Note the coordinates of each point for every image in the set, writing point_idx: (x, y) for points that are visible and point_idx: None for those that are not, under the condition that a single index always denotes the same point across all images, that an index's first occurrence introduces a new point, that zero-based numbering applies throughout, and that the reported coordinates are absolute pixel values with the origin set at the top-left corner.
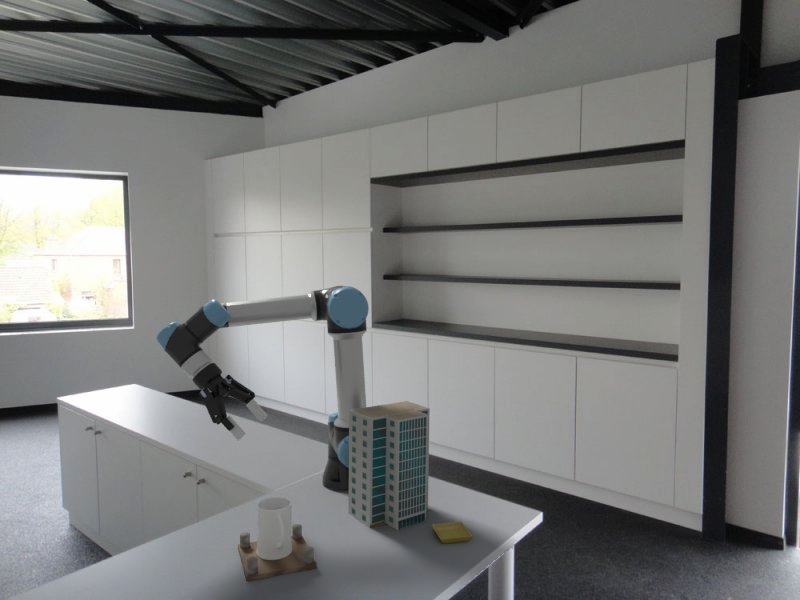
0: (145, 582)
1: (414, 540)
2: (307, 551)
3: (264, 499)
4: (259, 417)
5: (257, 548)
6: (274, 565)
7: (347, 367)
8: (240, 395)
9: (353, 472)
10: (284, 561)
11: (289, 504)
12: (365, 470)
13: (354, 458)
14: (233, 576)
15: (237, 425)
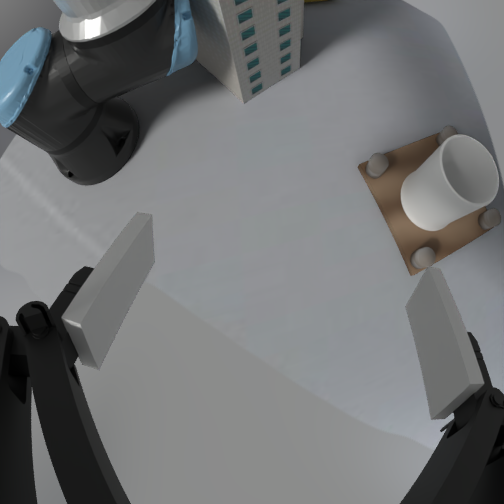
0: (497, 374)
1: (332, 21)
2: (457, 134)
3: (459, 196)
4: (144, 267)
5: (445, 225)
6: None
7: None
8: (91, 435)
9: (247, 37)
10: None
11: (450, 142)
12: (287, 3)
13: (247, 11)
14: (483, 251)
15: (455, 314)
